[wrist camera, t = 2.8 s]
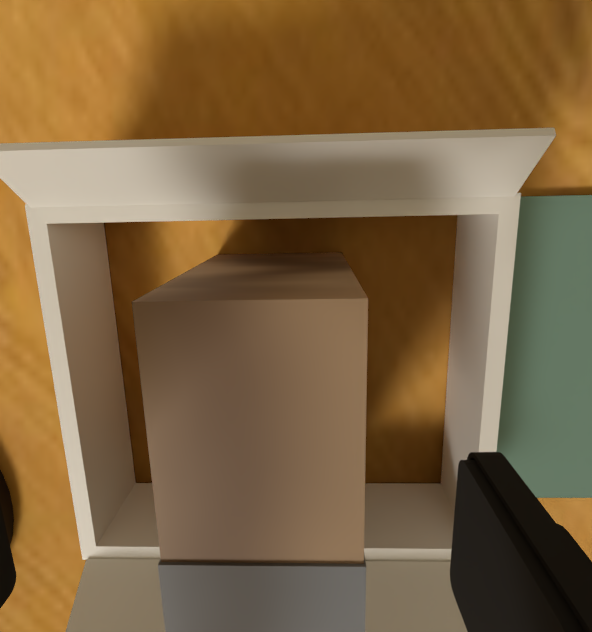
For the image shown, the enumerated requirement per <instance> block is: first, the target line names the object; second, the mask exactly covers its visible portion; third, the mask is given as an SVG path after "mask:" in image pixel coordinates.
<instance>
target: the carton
mask: <svg viewBox="0 0 592 632" xmlns="http://www.w3.org/2000/svg"><path fill="white" fill-rule="evenodd" d="M555 136H556V132H555V128H524V129H489V130H455V131H420V132H385V133H351V134H316V135H281V136H247V137H212V138H178V139H143V140H108V141H74V142H39V143H4V144H0V178H1V179H2V180H3V181H4V182H5V183H6V184H7V185H8V186H9V187H10V188H11V189H12V190H13V191H14V192H15V193H16V194H17V195H18V196H19V197H20V198H21V199H22V200H23V201H24V202H25V203H26V204H27V205H25V209H26V215H27V221H28V227H29V234H30V240H31V246H32V252H33V258H34V264H35V270H36V277H37V283H38V289H39V295H40V301H41V307H42V313H43V320H44V326H45V332H46V338H47V344H48V350H49V356H50V363H51V369H52V375H53V381H54V387H55V393H56V399H57V405H58V412H59V418H60V424H61V430H62V436H63V442H64V448H65V455H66V461H67V467H68V473H69V479H70V485H71V491H72V498H73V504H74V510H75V516H76V522H77V528H78V534H79V541H80V547H81V553H82V559H83V560H86V563H85V566H84V570H83V573H82V576H81V580H80V583H79V587H78V590H77V594H76V597H75V601H74V604H73V608H72V611H71V615H70V618H69V622H68V625H67V629H66V632H165V624H164V615H163V606H162V598H161V589H160V580H159V572H158V563H159V561H160V559H161V557H160V548H159V539H158V530H157V521H156V513H155V504H154V495H153V486H152V483H136V481H135V472H134V464H133V456H132V448H131V440H130V432H129V424H128V415H127V407H126V399H125V391H124V383H123V375H122V367H121V359H120V350H119V342H118V334H117V326H116V318H115V310H114V302H113V293H112V285H111V277H110V269H109V261H108V253H107V245H106V236H105V228H104V223H105V222H151V221H198V220H244V219H290V218H336V217H382V216H428V215H457V231H456V247H455V263H454V278H453V294H452V310H451V326H450V342H449V358H448V374H447V390H446V406H445V422H444V438H443V454H442V470H441V483H365V519H364V555H365V562H366V610H365V632H467V629H466V626H465V624H464V621H463V618H462V616H461V613H460V610H459V608H458V605H457V602H456V600H455V597H454V594H453V591H452V587H451V581H450V562H451V550H452V537H453V525H454V512H455V499H456V487H457V474H458V464H459V462H460V460H467V457H468V455H469V453H471V452H496V451H497V440H498V430H499V419H500V409H501V398H502V388H503V377H504V367H505V356H506V346H507V335H508V324H509V314H510V303H511V293H512V282H513V272H514V261H515V251H516V240H517V230H518V219H519V208H520V198H521V193H517V192H518V191H519V189H520V188H521V187H522V185H523V184H524V182H525V181H526V179H527V178H528V176H529V175H530V173H531V172H532V170H533V169H534V167H535V166H536V164H537V163H538V161H539V160H540V159H541V157H542V156H543V154H544V153H545V151H546V150H547V148H548V147H549V145H550V144H551V142H552V141H553V139H554V138H555Z"/></svg>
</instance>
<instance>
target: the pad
mask: <svg viewBox="0 0 592 632" xmlns="http://www.w3.org/2000/svg"><path fill="white" fill-rule="evenodd" d="M496 452H501V453H502V454H503V455H504V456H505V457H506V459H507V460H508V461H509V463H510V464H511V465H512V467H513V468H514V469H515V470H516V472H517V473H518V474H519V476H520V477H521V478H522V480H523V481H524V482H525V484H526V485H527V486H528V487H529V489H530V490H531V491H532V493H533V494H534V495H535V497H537V498H592V195H569V196H526V197H521V198H520V208H519V219H518V230H517V240H516V251H515V261H514V272H513V282H512V293H511V303H510V314H509V324H508V335H507V346H506V356H505V367H504V377H503V388H502V398H501V409H500V419H499V430H498V440H497V451H496Z"/></svg>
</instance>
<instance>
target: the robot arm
mask: <svg viewBox="0 0 592 632" xmlns="http://www.w3.org/2000/svg"><path fill="white" fill-rule="evenodd" d="M450 581H451V587H452V591H453V594H454V597H455V600H456V602H457V605H458V608H459V610H460V613H461V616H462V618H463V621H464V624H465V626H466V629H467V632H592V562H591V560H590V559H589V558H588V557H587V555H586V554H585V553H584V551H583V550H582V549H581V548H580V546H579V545H578V544H577V542H576V541H575V540H574V539H573V537H572V536H571V535H570V534H569V532H568V531H567V530H566V529H565V528H564V527H563V526H561V525H559V524H556V523H555V521H554V520H553V519H552V518H551V516H550V515H549V514H548V512H547V511H546V510H545V508H544V507H543V506H542V504H541V503H540V502H539V501H538V499H537V498H536V497H535V495H534V494H533V493H532V491H531V490H530V489H529V487H528V486H527V485H526V484H525V482H524V481H523V480H522V478H521V477H520V476H519V474H518V473H517V472H516V470H515V469H514V468H513V467H512V465H511V464H510V463H509V461H508V460H507V459H506V457H505V456H504V455H503V454H502V453H501V452H471V453H469V455H468V457H467V460H460V462H459V464H458V474H457V487H456V499H455V512H454V525H453V537H452V550H451V562H450ZM15 582H16V571H15V566H14V562H13V557H12V553H11V549H10V544H9V540H8V535H7V531H6V526H5V522H4V517H3V513H2V508H1V504H0V608H1V607H2V605H3V604H4V603H5V601H6V600H7V599H8V597H9V596H10V594H11V593H12V591H13V588H14V585H15Z"/></svg>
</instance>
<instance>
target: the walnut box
mask: <svg viewBox="0 0 592 632" xmlns="http://www.w3.org/2000/svg"><path fill="white" fill-rule="evenodd" d="M132 309H133V317H134V326H135V335H136V344H137V353H138V362H139V371H140V380H141V388H142V397H143V406H144V415H145V424H146V433H147V442H148V450H149V459H150V468H151V477H152V486H153V495H154V504H155V513H156V521H157V530H158V539H159V548H160V557H161V559H160V561H159V563H158V572H159V580H160V589H161V598H162V606H163V615H164V624H165V632H365V610H366V562H365V555H364V519H365V459H366V399H367V339H368V297H367V296H366V294H365V292H364V290H363V289H362V287H361V285H360V283H359V282H358V280H357V278H356V277H355V275H354V273H353V271H352V270H351V268H350V266H349V265H348V263H347V261H346V259H345V258H344V256H343V254H342V253H341V252H327V253H274V254H220V255H216V256H214V257H212V258H210V259H209V260H207V261H205V262H203V263H201V264H199V265H198V266H196V267H194V268H192V269H190V270H189V271H187V272H185V273H183V274H181V275H180V276H178V277H176V278H174V279H172V280H170V281H169V282H167V283H165V284H163V285H161V286H160V287H158V288H156V289H154V290H152V291H151V292H149V293H147V294H145V295H143V296H141V297H140V298H138V299H136V300H134V301H132Z"/></svg>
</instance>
